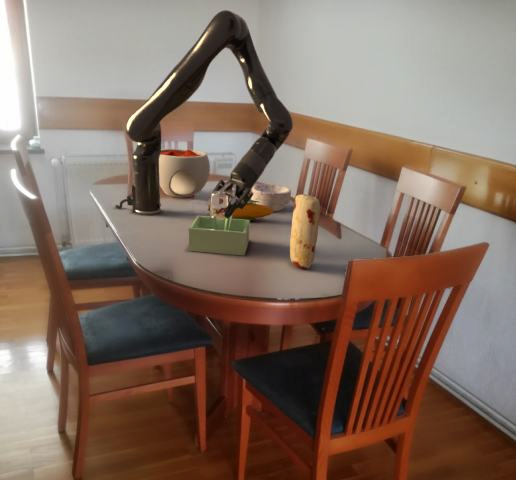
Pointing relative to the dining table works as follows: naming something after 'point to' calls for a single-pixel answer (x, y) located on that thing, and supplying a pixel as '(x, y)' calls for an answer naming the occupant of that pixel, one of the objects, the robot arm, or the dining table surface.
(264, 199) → the paper bowls
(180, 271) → the dining table surface
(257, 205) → the corn
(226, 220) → the beer glass
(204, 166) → the pot
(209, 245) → the tub
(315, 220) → the food model
